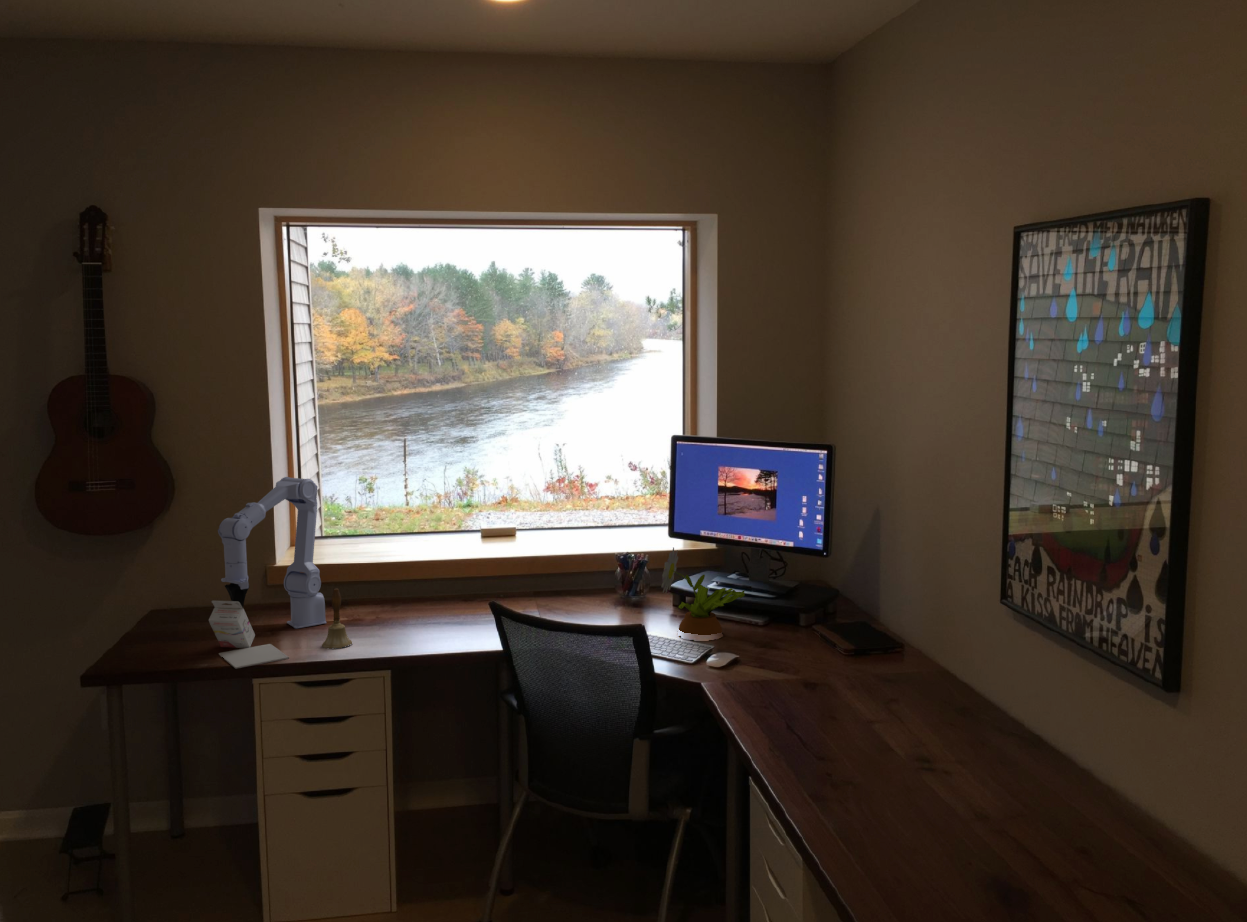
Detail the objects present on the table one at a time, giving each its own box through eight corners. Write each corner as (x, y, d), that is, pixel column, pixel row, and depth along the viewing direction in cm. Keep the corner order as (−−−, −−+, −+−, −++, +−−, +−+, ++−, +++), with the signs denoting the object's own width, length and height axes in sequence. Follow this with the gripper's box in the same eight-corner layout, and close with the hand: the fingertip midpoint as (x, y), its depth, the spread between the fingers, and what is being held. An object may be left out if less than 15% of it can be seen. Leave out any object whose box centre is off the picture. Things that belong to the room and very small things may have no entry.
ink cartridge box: (220, 648, 291) (203, 613, 281) (226, 634, 295) (210, 599, 285) (250, 649, 290) (234, 613, 281) (256, 634, 294) (240, 599, 284)
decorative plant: (675, 620, 316) (676, 538, 313) (754, 627, 308) (755, 543, 305) (647, 645, 291) (647, 557, 288) (733, 654, 283) (733, 563, 280)
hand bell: (337, 638, 299) (335, 584, 297) (359, 643, 295) (356, 587, 293) (315, 646, 292) (313, 590, 290) (337, 651, 288) (334, 594, 286)
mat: (270, 645, 293) (270, 643, 293) (289, 658, 281) (288, 657, 281) (218, 654, 285) (218, 653, 285) (235, 668, 273) (235, 667, 273)
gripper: (213, 558, 293) (215, 606, 295) (228, 568, 281) (231, 617, 283) (239, 555, 297) (241, 602, 299) (255, 564, 285) (257, 613, 287)
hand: (238, 609), depth 291 cm, fingers closed
